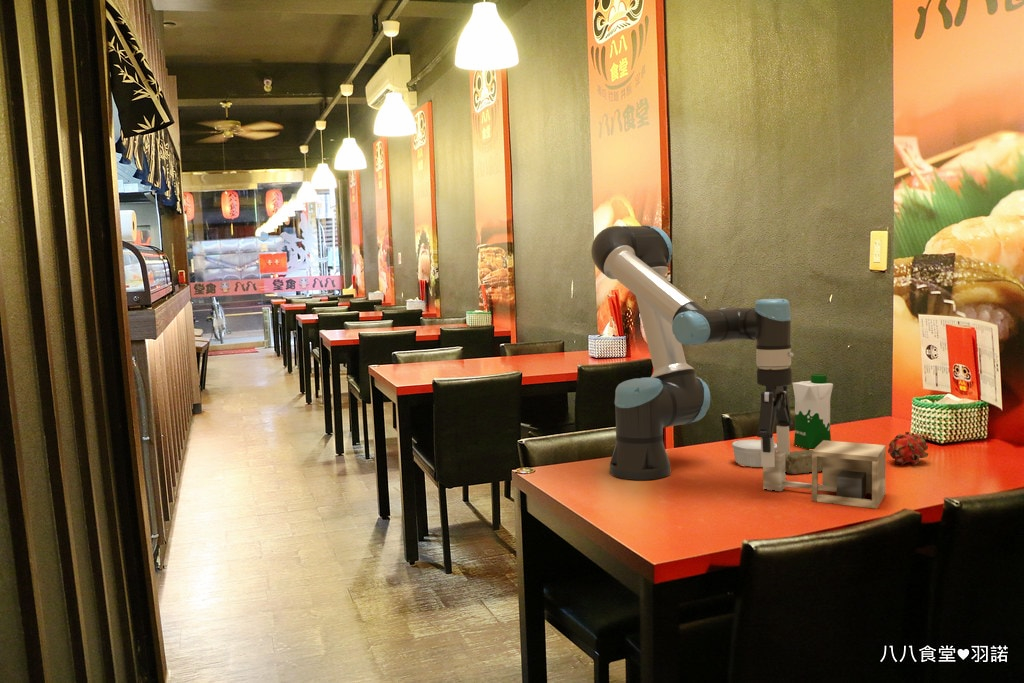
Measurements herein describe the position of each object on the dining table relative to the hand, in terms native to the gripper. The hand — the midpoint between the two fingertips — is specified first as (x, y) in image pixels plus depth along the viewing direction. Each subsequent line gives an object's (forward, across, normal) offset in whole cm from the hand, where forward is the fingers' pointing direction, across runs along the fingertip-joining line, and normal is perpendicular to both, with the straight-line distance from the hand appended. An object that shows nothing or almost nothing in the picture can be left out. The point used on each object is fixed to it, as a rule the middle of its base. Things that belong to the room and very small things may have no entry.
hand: (775, 460), depth 185 cm
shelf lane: (+7, 0, -15) cm, 17 cm away
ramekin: (+7, +22, +11) cm, 26 cm away
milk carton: (+7, +47, +2) cm, 48 cm away
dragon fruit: (+7, +37, -23) cm, 44 cm away
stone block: (+7, +20, -2) cm, 21 cm away
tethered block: (+7, 0, -8) cm, 10 cm away
